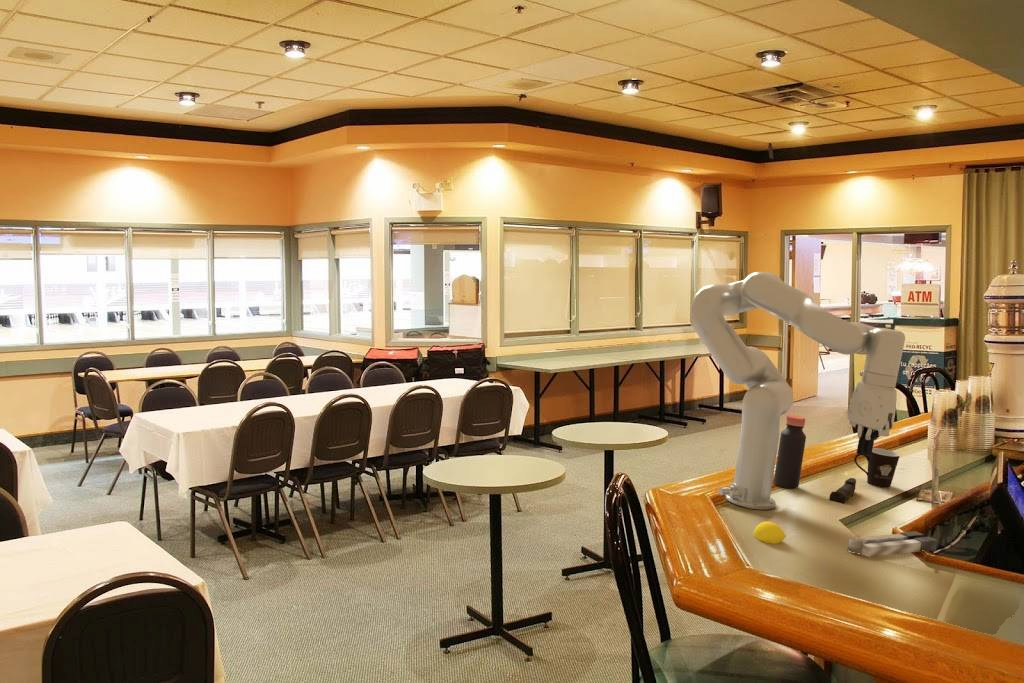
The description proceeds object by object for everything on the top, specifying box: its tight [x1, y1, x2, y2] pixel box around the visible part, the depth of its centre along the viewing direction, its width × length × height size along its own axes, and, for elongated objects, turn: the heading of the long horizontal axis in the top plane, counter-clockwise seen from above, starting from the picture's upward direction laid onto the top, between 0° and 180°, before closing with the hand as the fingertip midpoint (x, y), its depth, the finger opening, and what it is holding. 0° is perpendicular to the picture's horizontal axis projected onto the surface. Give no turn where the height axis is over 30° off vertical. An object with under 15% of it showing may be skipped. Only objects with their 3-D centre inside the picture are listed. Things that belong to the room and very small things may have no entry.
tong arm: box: [858, 530, 925, 544], centre depth 185 cm, size 18×2×3 cm, turn 115°
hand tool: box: [828, 477, 857, 505], centre depth 225 cm, size 19×4×5 cm, turn 143°
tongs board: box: [847, 536, 938, 558], centre depth 187 cm, size 28×20×4 cm
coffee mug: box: [853, 447, 901, 489], centre depth 245 cm, size 12×9×10 cm
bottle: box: [773, 414, 807, 490], centre depth 231 cm, size 7×7×20 cm
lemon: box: [753, 520, 787, 545], centre depth 181 cm, size 7×5×5 cm
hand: (863, 454), depth 196 cm, fingers closed
